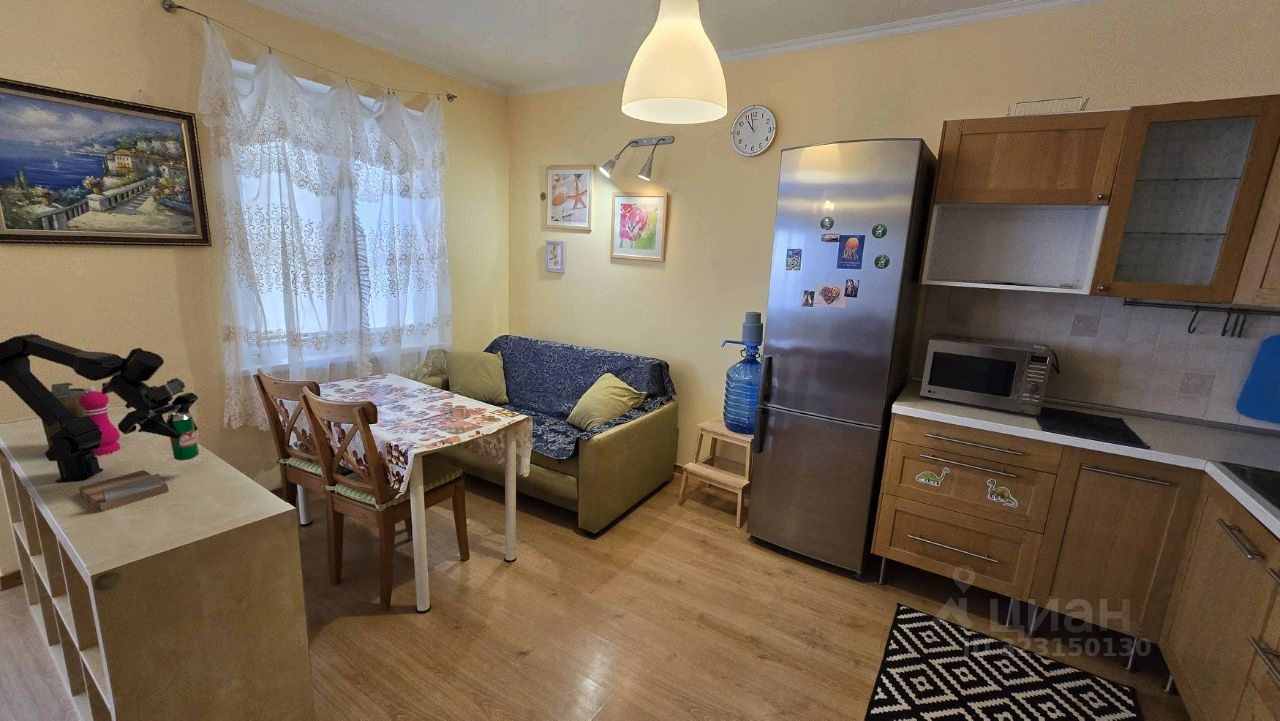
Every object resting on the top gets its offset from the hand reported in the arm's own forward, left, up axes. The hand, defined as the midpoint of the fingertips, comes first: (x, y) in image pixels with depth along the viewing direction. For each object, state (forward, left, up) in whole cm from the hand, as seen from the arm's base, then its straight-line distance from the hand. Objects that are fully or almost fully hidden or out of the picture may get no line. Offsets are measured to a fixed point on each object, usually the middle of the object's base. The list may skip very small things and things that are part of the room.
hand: (188, 433), depth 136 cm
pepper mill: (-35, +25, -12) cm, 45 cm away
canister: (-46, +30, -12) cm, 57 cm away
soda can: (-1, 0, -7) cm, 7 cm away
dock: (-11, -8, -12) cm, 18 cm away
